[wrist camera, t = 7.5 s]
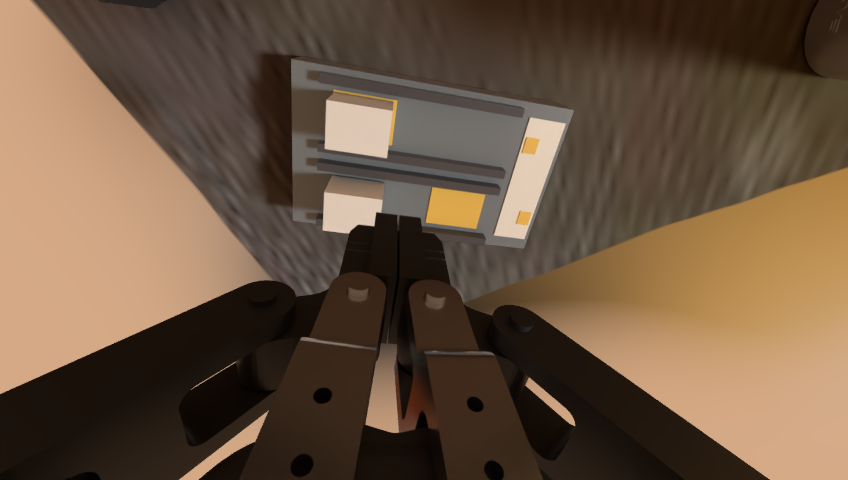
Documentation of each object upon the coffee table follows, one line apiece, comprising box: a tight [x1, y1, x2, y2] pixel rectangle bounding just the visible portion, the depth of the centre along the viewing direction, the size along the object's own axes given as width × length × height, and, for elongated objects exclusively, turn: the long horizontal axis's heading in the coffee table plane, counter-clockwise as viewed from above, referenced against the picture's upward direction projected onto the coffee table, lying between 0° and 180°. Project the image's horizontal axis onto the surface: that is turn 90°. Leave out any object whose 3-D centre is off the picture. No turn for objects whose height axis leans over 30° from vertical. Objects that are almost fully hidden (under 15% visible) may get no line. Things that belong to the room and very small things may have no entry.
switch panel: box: [291, 56, 574, 249], centre depth 28 cm, size 20×12×4 cm, turn 80°
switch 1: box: [325, 92, 394, 158], centre depth 24 cm, size 4×3×3 cm
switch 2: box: [323, 175, 384, 233], centre depth 27 cm, size 4×3×3 cm
